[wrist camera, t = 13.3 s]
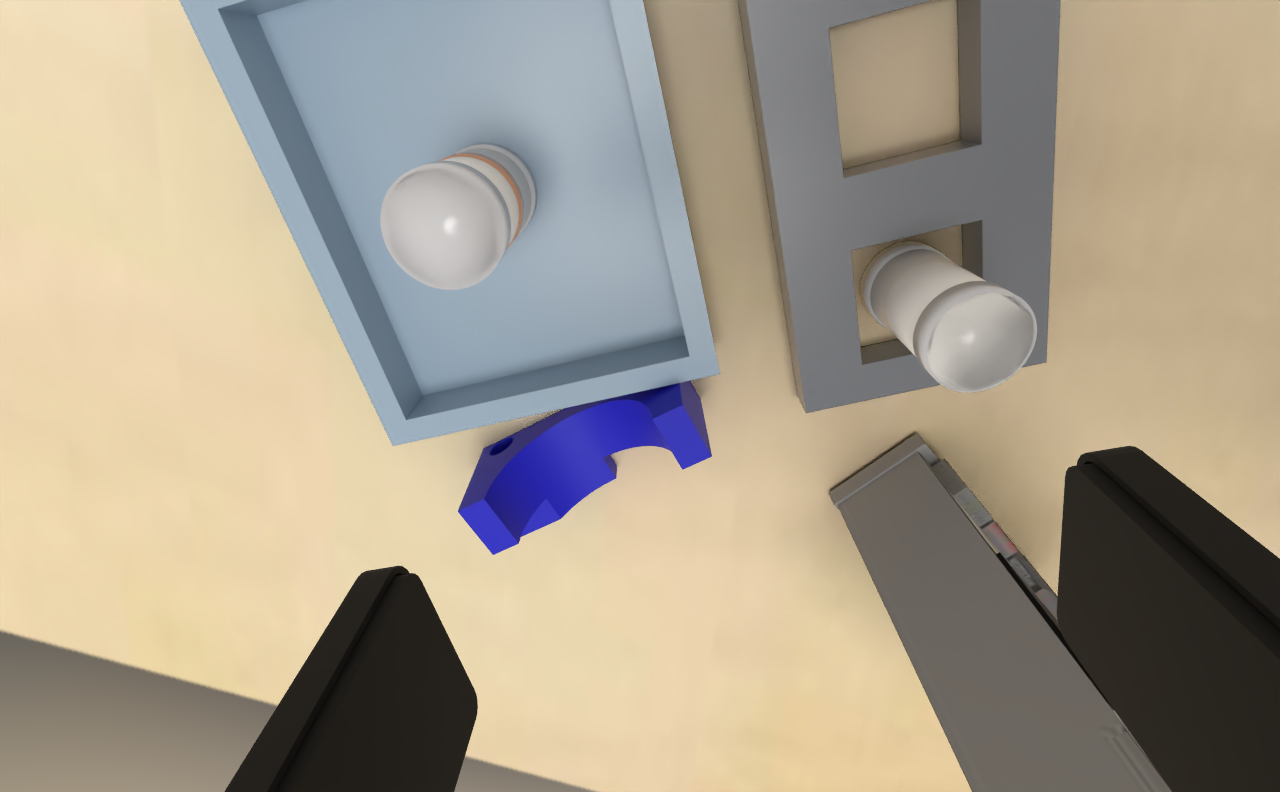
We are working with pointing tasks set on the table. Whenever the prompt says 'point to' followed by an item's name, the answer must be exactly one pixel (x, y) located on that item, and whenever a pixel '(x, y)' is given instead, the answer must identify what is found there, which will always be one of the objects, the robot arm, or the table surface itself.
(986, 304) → the cylinder
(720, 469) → the table surface
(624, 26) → the tray
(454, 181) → the marked fuse
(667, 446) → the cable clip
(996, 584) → the cassette tape recorder
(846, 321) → the fuse holder
